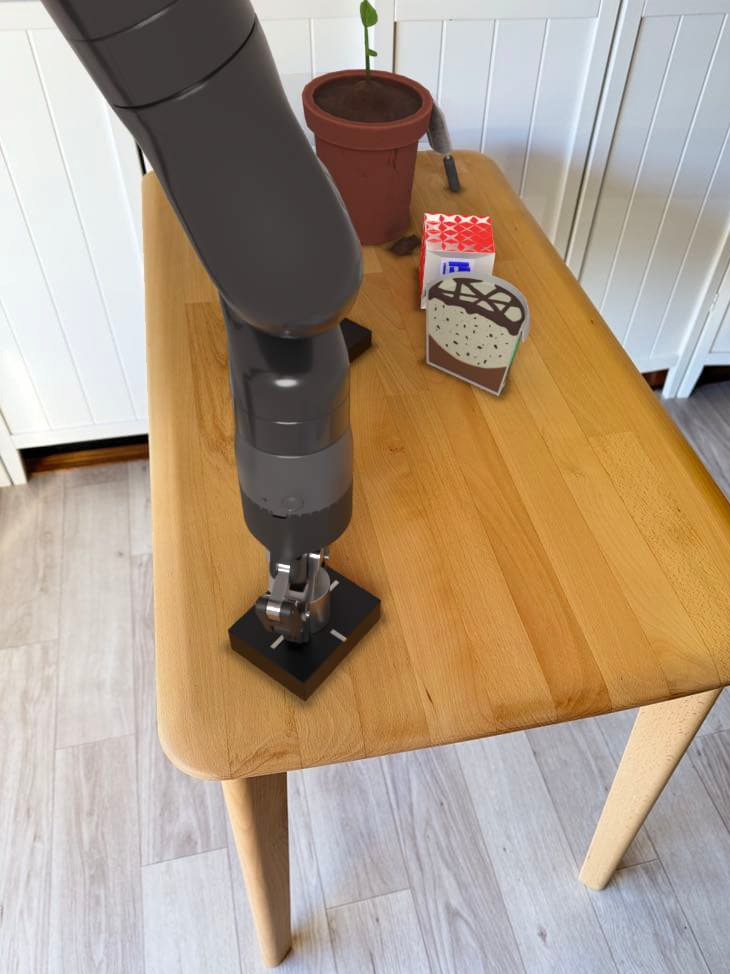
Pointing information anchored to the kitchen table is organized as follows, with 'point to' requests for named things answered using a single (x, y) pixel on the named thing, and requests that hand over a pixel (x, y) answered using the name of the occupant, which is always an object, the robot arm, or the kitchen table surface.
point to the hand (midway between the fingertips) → (304, 612)
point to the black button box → (355, 338)
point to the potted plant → (375, 142)
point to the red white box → (455, 246)
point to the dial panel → (325, 648)
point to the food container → (474, 327)
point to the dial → (320, 603)
